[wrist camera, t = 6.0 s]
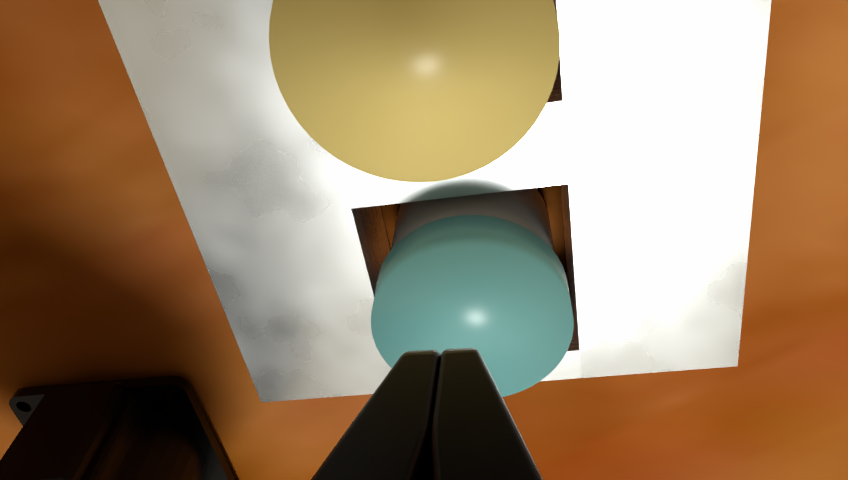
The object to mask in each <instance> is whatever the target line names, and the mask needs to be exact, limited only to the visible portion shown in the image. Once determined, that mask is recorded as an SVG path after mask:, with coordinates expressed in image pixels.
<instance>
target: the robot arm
mask: <svg viewBox="0 0 848 480" xmlns="http://www.w3.org/2000/svg"><path fill="white" fill-rule="evenodd" d="M174 390H175V391H174ZM176 391H177V392H176ZM9 405H10V407H11V409H12V410H13V412H14V413H15V415H16V416H17V418H18V419H19V421H20V422H21V424H22V425H23V428H22V429H21V431H20V432H19V433H18V435H17V436H16V438H15V439H14V441H13V442H12V444H11V445H10V447H9V448H8V450H7V451H6V453H5V454H4V456H3V457H2V459H1V460H0V480H235V478H234V475H233V473H232V471H231V469H230V467H229V465H228V463H227V461H226V459H225V456H224V454H223V452H222V450H221V448H220V446H219V444H218V442H217V439H216V437H215V435H214V433H213V431H212V429H211V427H210V425H209V423H208V420H207V418H206V416H205V414H204V412H203V410H202V408H201V406H200V403H199V401H198V399H197V397H196V395H195V393H194V391H193V389H192V387H191V385H190V383H189V382H188V381H187V380H185V379H184V378H182V377H179V376H163V377H151V378H139V379H127V380H115V381H102V382H90V383H78V384H66V385H54V386H42V387H30V388H22V389H18V390H17V391H16V392H15V394H14V395H13V397H12V398H11V399H10V402H9ZM311 480H543V479H542V477H541V474H540V472H539V470H538V468H537V466H536V464H535V462H534V460H533V458H532V456H531V454H530V452H529V450H528V448H527V446H526V444H525V442H524V440H523V438H522V436H521V434H520V432H519V430H518V428H517V426H516V424H515V422H514V420H513V418H512V416H511V414H510V412H509V410H508V408H507V406H506V404H505V402H504V400H503V398H502V396H501V394H500V392H499V390H498V388H497V386H496V384H495V382H494V380H493V378H492V376H491V374H490V372H489V370H488V368H487V366H486V364H485V362H484V360H483V358H482V356H481V354H480V352H479V351H478V350H477V349H475V348H458V349H445V350H444V351H443V352H442V354H440V353H439V352H438V351H437V350H419V351H407V352H405V353H403V354H402V355H401V356H400V358H399V359H398V360H397V362H396V363H395V365H394V366H393V367H392V369H391V370H390V371H389V373H388V374H387V376H386V377H385V378H384V380H383V381H382V382H381V384H380V385H379V387H378V388H377V389H376V391H375V392H374V394H373V395H372V396H371V398H370V399H369V400H368V402H367V403H366V405H365V406H364V407H363V409H362V410H361V411H360V413H359V414H358V416H357V417H356V418H355V420H354V421H353V422H352V424H351V425H350V427H349V428H348V429H347V431H346V432H345V434H344V435H343V436H342V438H341V439H340V440H339V442H338V443H337V445H336V446H335V447H334V449H333V450H332V451H331V453H330V454H329V456H328V457H327V458H326V460H325V461H324V462H323V464H322V465H321V467H320V468H319V469H318V471H317V472H316V474H315V475H314V476H313V478H312V479H311Z"/></svg>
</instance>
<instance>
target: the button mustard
mask: <svg viewBox="0 0 848 480" xmlns="http://www.w3.org/2000/svg"><path fill="white" fill-rule="evenodd" d="M269 49H270V58H271V63H272V67H273V72H274V76H275V79H276V81H277V84H278V87H279V90H280V92H281V94H282V96H283V98H284V100H285V102H286V104H287V106H288V108H289V110H290V111H291V113H292V114H293V116H294V117H295V119H296V120H297V122H298V123H299V124H300V125H301V127H302V128H303V129H304V130H305V131H306V132H307V133H308V135H309V136H310V137H311V138H312V139H313V140H314V141H316V142H317V143H318V144H319V145H320V146H321V147H322V148H323V149H325V150H326V151H327V152H329V153H330V154H331V155H333V156H334V157H336V158H337V159H339V160H341V161H342V162H344V163H346V164H348V165H349V166H351V167H353V168H356V169H358V170H360V171H363V172H365V173H367V174H370V175H374V176H377V177H381V178H384V179H390V180H395V181H401V182H418V183H420V182H436V181H442V180H447V179H453V178H456V177H459V176H463V175H466V174H469V173H472V172H474V171H476V170H478V169H481V168H483V167H485V166H487V165H489V164H490V163H492V162H494V161H495V160H497V159H499V158H500V157H501V156H503V155H504V154H505V153H507V152H508V151H509V150H511V149H512V148H513V147H514V146H515V145H516V144H517V143H518V142H519V141H520V140H521V139H522V138H523V137H524V136H525V135H526V134H527V133H528V131H529V130H530V129H531V128H532V126H533V125H534V124H535V122H536V121H537V119H538V118H539V116H540V114H541V113H542V111H543V109H544V108H545V106H546V103H547V101H548V99H549V96H550V94H551V92H552V89H553V86H554V82H555V78H556V75H557V70H558V63H559V56H560V32H559V24H558V17H557V13H556V9H555V5H554V2H553V0H273V3H272V9H271V14H270V20H269Z"/></svg>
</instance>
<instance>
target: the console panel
mask: <svg viewBox="0 0 848 480" xmlns="http://www.w3.org/2000/svg"><path fill="white" fill-rule="evenodd" d="M98 1H99V4H100V6H101V9H102V11H103V14H104V16H105V18H106V21H107V23H108V26H109V28H110V31H111V33H112V36H113V38H114V41H115V43H116V46H117V48H118V50H119V53H120V55H121V58H122V60H123V63H124V65H125V68H126V70H127V73H128V75H129V78H130V80H131V82H132V85H133V87H134V90H135V92H136V95H137V97H138V100H139V102H140V105H141V107H142V110H143V112H144V114H145V117H146V119H147V122H148V124H149V127H150V129H151V132H152V134H153V137H154V139H155V142H156V144H157V146H158V149H159V151H160V154H161V156H162V159H163V161H164V164H165V166H166V169H167V171H168V174H169V176H170V178H171V181H172V183H173V186H174V188H175V191H176V193H177V196H178V198H179V201H180V203H181V206H182V208H183V210H184V213H185V215H186V218H187V220H188V223H189V225H190V228H191V230H192V233H193V235H194V238H195V240H196V242H197V245H198V247H199V250H200V252H201V255H202V257H203V260H204V262H205V265H206V267H207V269H208V272H209V274H210V277H211V279H212V282H213V284H214V287H215V289H216V292H217V294H218V297H219V299H220V301H221V304H222V306H223V309H224V311H225V314H226V316H227V319H228V321H229V324H230V326H231V329H232V331H233V333H234V336H235V338H236V341H237V343H238V346H239V348H240V351H241V353H242V356H243V358H244V361H245V363H246V365H247V368H248V370H249V373H250V375H251V378H252V380H253V383H254V385H255V388H256V390H257V393H258V395H259V397H260V400H261V402H271V401H284V400H297V399H311V398H324V397H337V396H350V395H363V394H374V392H375V391H376V389H377V388H378V387H379V385H380V384H381V382H382V381H383V380H384V378H385V377H386V376H387V374H388V373H389V371H390V370H391V369H392V368H391V367H390V366H389V365H388V364H387V363H386V362H385V360H384V359H383V358H382V356H381V355H380V353H379V351H378V349H377V347H376V345H375V342H374V339H373V336H372V330H371V312H372V306H373V301H374V296H375V290H376V285H377V280H378V275H379V272H380V269H381V266H382V264H383V262H384V260H385V258H386V256H387V255H388V253H389V252H390V251H391V250H390V245H389V241H388V237H387V232H386V228H385V224H384V220H383V215H382V211H381V207H380V205H388V204H397V203H406V202H414V201H423V200H432V199H441V198H450V197H458V196H467V195H476V194H485V193H494V192H502V191H511V190H520V189H529V188H538V187H547V186H555V185H561V197H562V210H563V224H564V238H565V251H566V265H567V278H568V281H567V282H568V288H569V294H570V300H571V306H572V312H573V318H574V330H573V335H572V340H571V343H570V346H569V348H568V350H567V352H566V354H565V356H564V358H563V359H562V360H561V362H560V363H559V364H558V366H557V367H556V368H555V369H554V370H553V371H552V372H551V373H550V374H549V375H547V376H546V377H545V378H543V379H542V380H541V381H548V380H561V379H574V378H588V377H601V376H614V375H627V374H640V373H653V372H667V371H680V370H693V369H706V368H719V367H733V366H737V365H738V355H739V344H740V333H741V322H742V311H743V301H744V290H745V279H746V268H747V258H748V247H749V236H750V225H751V214H752V204H753V193H754V182H755V171H756V161H757V150H758V139H759V128H760V117H761V107H762V96H763V85H764V74H765V64H766V53H767V42H768V31H769V20H770V10H771V0H553V2H554V5H555V9H556V13H557V17H558V24H559V32H560V56H559V63H558V70H557V75H556V78H555V82H554V86H553V89H552V92H551V94H550V96H549V99H548V101H547V103H546V106H545V108H544V109H543V111H542V113H541V114H540V116H539V118H538V119H537V121H536V122H535V124H534V125H533V126H532V128H531V129H530V130H529V131H528V133H527V134H526V135H525V136H524V137H523V138H522V139H521V140H520V141H519V142H518V143H517V144H516V145H515V146H514V147H513V148H512V149H511V150H509V151H508V152H507V153H505V154H504V155H503V156H501V157H500V158H499V159H497V160H495V161H494V162H492V163H490V164H489V165H487V166H485V167H483V168H481V169H478V170H476V171H474V172H472V173H469V174H466V175H463V176H459V177H456V178H453V179H447V180H442V181H436V182H420V183H418V182H401V181H395V180H390V179H384V178H381V177H377V176H374V175H370V174H367V173H365V172H363V171H360V170H358V169H356V168H353V167H351V166H349V165H348V164H346V163H344V162H342V161H341V160H339V159H337V158H336V157H334V156H333V155H331V154H330V153H329V152H327V151H326V150H325V149H323V148H322V147H321V146H320V145H319V144H318V143H317V142H316V141H314V140H313V139H312V138H311V137H310V136H309V135H308V133H307V132H306V131H305V130H304V129H303V128H302V127H301V125H300V124H299V123H298V122H297V120H296V119H295V117H294V116H293V114H292V113H291V111H290V110H289V108H288V106H287V104H286V102H285V100H284V98H283V96H282V94H281V92H280V90H279V87H278V84H277V81H276V79H275V76H274V72H273V67H272V63H271V58H270V49H269V20H270V14H271V9H272V3H273V0H98Z"/></svg>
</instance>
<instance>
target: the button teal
mask: <svg viewBox="0 0 848 480" xmlns="http://www.w3.org/2000/svg"><path fill="white" fill-rule="evenodd" d="M371 330H372V336H373V339H374V342H375V345H376V347H377V349H378V351H379V353H380V355H381V356H382V358H383V359H384V360H385V362H386V363H387V364H388V365H389V366H390V367H391V368H392V367H393V366H394V365H395V363H396V362H397V360H398V359H399V358H400V356H401V355H402V354H403V353H405V352H407V351H419V350H437V351H438V352H439V353H440V354H442V352H443V351H444V350H445V349H458V348H475V349H477V350H478V351H479V352H480V354H481V356H482V358H483V360H484V362H485V364H486V366H487V368H488V370H489V372H490V374H491V376H492V378H493V380H494V382H495V384H496V386H497V388H498V390H499V392H500V394H501V396H502V397H504V396H508V395H511V394H514V393H517V392H520V391H522V390H525V389H527V388H529V387H531V386H533V385H534V384H536V383H538V382H539V381H541V380H542V379H543V378H545V377H546V376H547V375H549V374H550V373H551V372H552V371H553V370H554V369H555V368H556V367H557V366H558V364H559V363H560V362H561V360H562V359H563V358H564V356H565V354H566V352H567V350H568V348H569V346H570V343H571V340H572V335H573V330H574V318H573V312H572V306H571V300H570V294H569V288H568V282H567V277H566V274H565V271H564V268H563V265H562V264H561V262H560V260H559V258H558V256H557V255H556V254H555V252H554V248H553V241H552V235H551V228H550V222H549V216H548V211H547V208H546V205H545V202H544V200H543V198H542V196H541V195H540V193H539V192H538V190H537V189H536V188H529V189H520V190H511V191H502V192H494V193H485V194H476V195H467V196H458V197H450V198H441V199H432V200H423V201H414V202H406V203H401V204H400V207H399V210H398V214H397V220H396V225H395V231H394V237H393V243H392V249H391V251H390V252H389V253H388V255H387V256H386V258H385V260H384V262H383V264H382V266H381V269H380V272H379V275H378V280H377V285H376V290H375V296H374V301H373V306H372V312H371Z"/></svg>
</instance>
